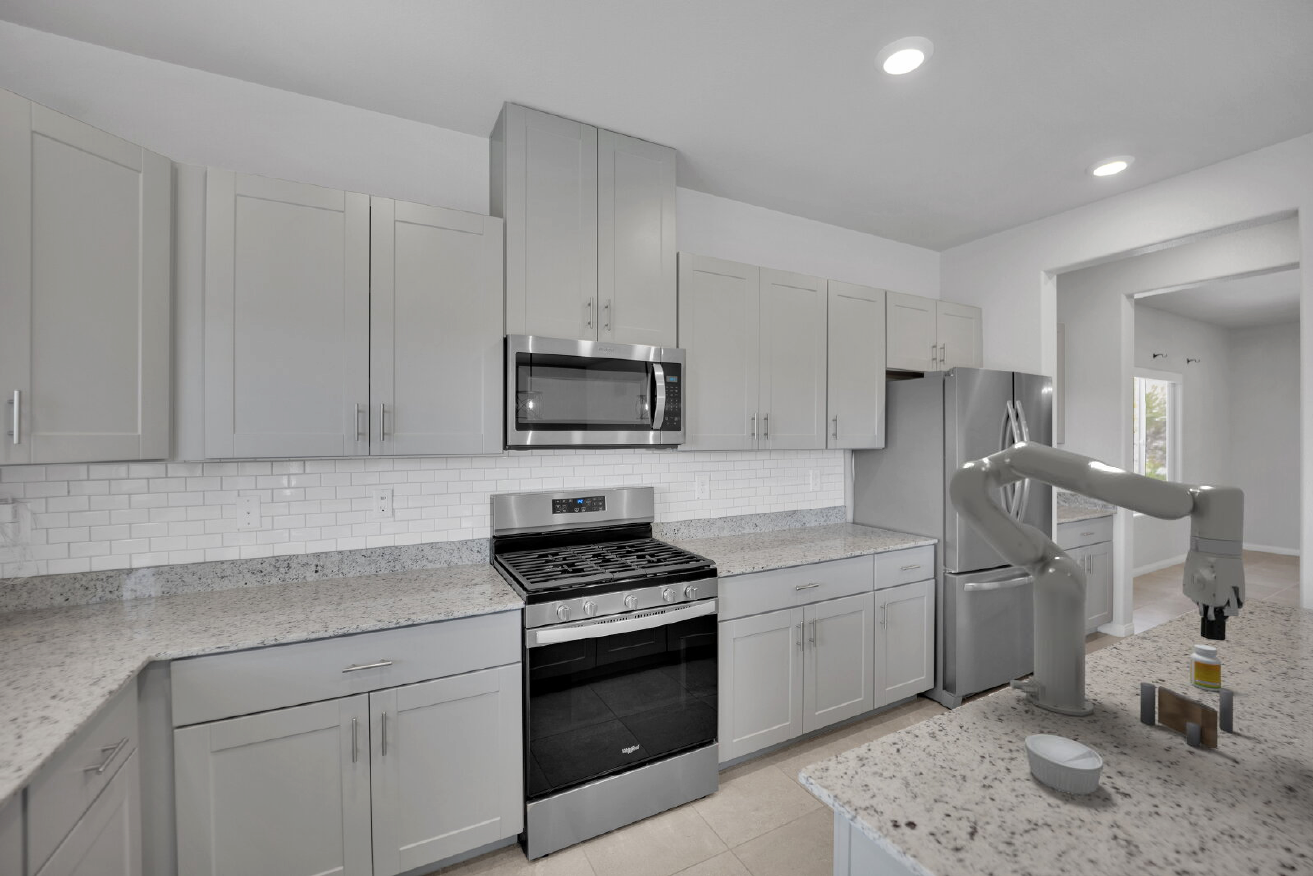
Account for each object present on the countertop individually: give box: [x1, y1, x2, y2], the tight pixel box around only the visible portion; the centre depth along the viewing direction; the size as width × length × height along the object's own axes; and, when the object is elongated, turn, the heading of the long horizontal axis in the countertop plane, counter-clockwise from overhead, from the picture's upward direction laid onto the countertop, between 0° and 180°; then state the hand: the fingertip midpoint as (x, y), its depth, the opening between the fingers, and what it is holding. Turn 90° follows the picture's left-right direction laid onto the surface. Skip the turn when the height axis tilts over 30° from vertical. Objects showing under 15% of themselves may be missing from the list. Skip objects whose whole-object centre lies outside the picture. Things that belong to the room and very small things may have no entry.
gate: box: [1157, 685, 1219, 749], centre depth 115 cm, size 10×2×8 cm, turn 8°
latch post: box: [1218, 688, 1234, 733], centre depth 118 cm, size 2×2×8 cm
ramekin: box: [1024, 733, 1104, 795], centre depth 100 cm, size 11×11×5 cm
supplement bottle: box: [1189, 643, 1222, 692], centre depth 140 cm, size 5×5×10 cm
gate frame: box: [1139, 681, 1202, 749], centre depth 117 cm, size 2×11×8 cm, turn 7°
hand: (1212, 638), depth 114 cm, fingers closed
